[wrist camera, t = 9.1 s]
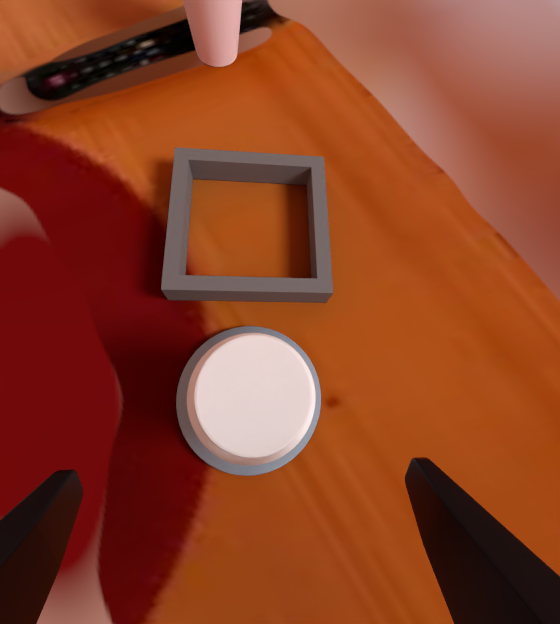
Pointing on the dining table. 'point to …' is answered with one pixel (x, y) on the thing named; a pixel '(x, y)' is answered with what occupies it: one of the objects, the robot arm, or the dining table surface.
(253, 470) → the coaster
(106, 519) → the dining table surface
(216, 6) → the smoothie
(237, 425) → the supplement bottle
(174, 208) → the frame
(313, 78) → the dining table surface
